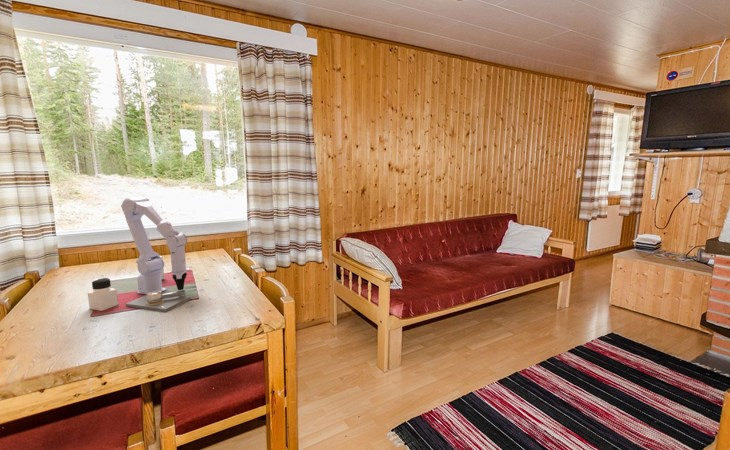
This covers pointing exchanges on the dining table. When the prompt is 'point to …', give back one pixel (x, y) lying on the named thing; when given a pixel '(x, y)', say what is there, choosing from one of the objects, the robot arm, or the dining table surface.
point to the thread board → (161, 306)
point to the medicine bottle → (102, 295)
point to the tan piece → (161, 296)
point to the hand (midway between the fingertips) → (180, 289)
